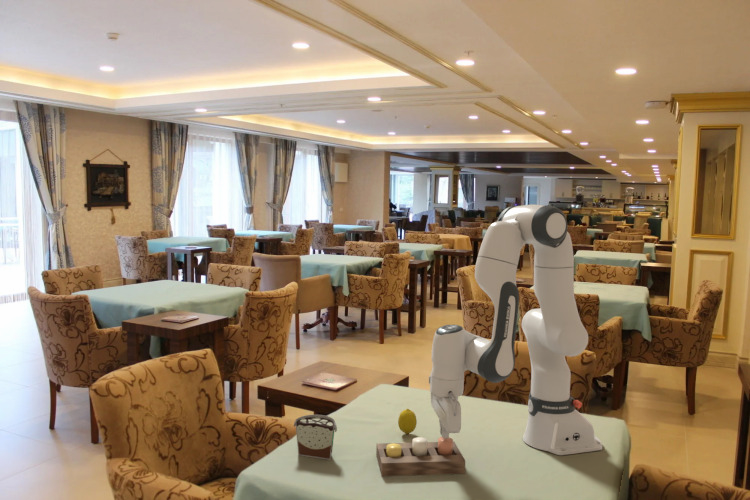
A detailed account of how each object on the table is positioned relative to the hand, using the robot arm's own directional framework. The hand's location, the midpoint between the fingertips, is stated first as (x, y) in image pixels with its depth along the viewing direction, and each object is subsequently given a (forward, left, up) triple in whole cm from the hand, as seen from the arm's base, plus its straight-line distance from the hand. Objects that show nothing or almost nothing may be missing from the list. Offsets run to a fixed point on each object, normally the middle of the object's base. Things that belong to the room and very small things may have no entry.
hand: (444, 435), depth 159 cm
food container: (+34, -9, -8) cm, 36 cm away
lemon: (+7, -20, -8) cm, 23 cm away
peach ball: (0, 0, -5) cm, 5 cm away
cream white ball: (+7, 0, -5) cm, 8 cm away
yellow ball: (+14, 0, -6) cm, 15 cm away
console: (+7, 0, -8) cm, 10 cm away
